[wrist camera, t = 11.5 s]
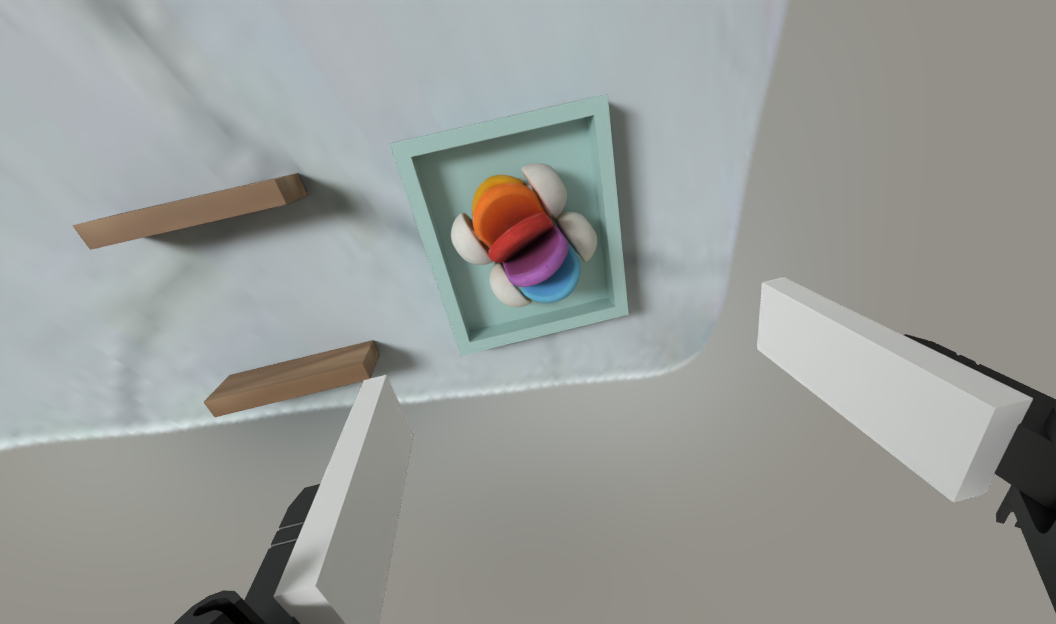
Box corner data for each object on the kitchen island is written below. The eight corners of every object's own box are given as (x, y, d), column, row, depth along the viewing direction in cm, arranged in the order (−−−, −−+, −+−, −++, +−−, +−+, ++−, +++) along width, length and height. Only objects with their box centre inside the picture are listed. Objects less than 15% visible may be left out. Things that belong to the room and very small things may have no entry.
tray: (396, 142, 26) (389, 143, 24) (596, 96, 27) (607, 94, 25) (461, 340, 33) (460, 355, 31) (618, 302, 34) (628, 314, 32)
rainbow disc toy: (531, 139, 27) (550, 144, 20) (601, 247, 31) (635, 280, 24) (436, 214, 28) (426, 241, 22) (515, 308, 32) (526, 355, 26)
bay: (120, 213, 26) (72, 225, 23) (297, 173, 26) (274, 179, 23) (239, 389, 33) (214, 417, 30) (379, 355, 33) (369, 379, 30)
